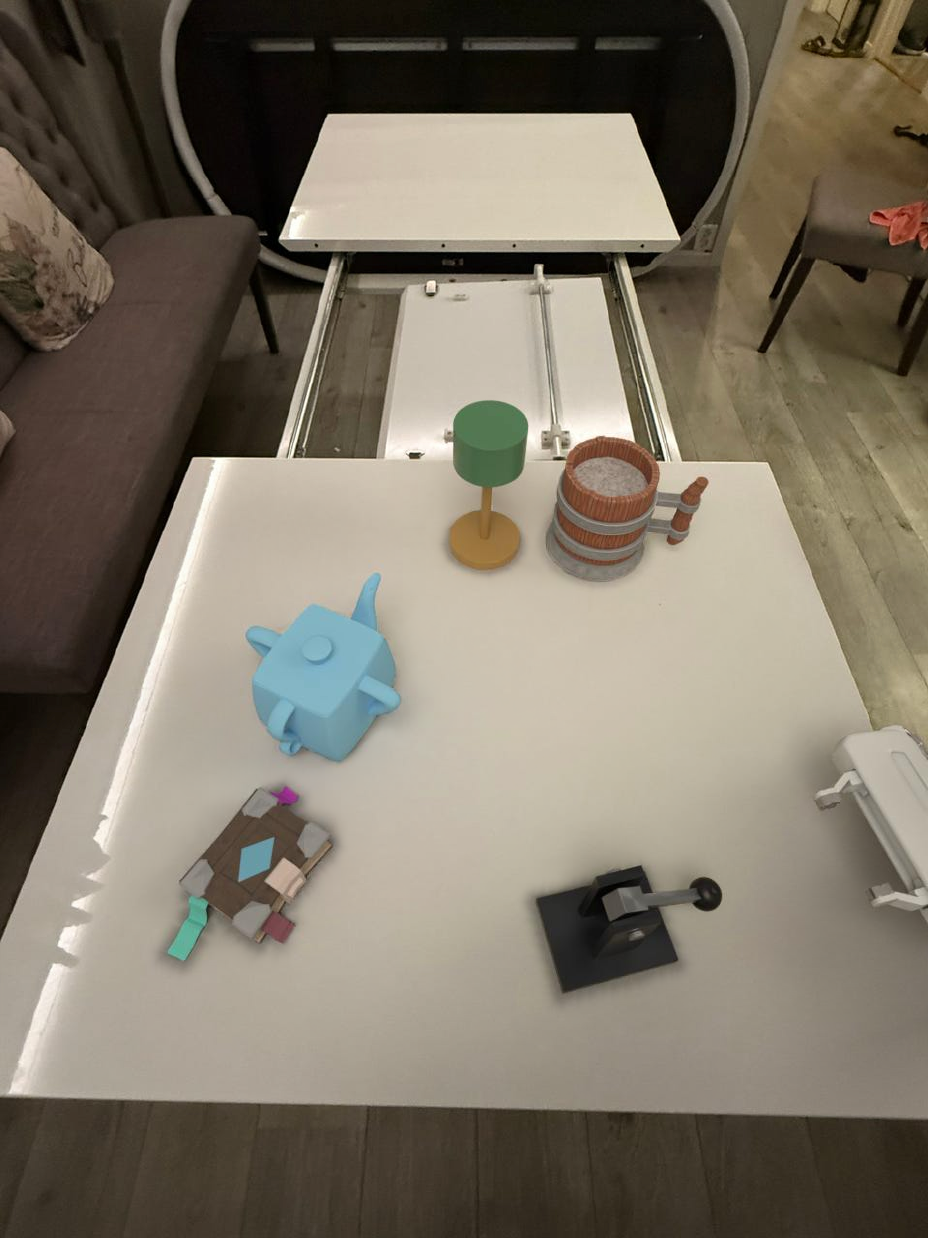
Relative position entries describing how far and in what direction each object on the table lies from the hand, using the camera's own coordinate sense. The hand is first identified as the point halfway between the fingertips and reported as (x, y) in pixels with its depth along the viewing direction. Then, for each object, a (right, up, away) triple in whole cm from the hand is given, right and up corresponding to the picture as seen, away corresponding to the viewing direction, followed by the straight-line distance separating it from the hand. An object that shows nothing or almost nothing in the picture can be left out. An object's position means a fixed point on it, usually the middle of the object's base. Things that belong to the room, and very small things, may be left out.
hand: (843, 848), depth 69 cm
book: (-58, -6, +8) cm, 59 cm away
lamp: (-33, +33, +36) cm, 59 cm away
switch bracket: (-22, -10, +6) cm, 25 cm away
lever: (-18, -6, +1) cm, 19 cm away
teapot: (-51, +12, +21) cm, 57 cm away
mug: (-15, +32, +36) cm, 50 cm away
